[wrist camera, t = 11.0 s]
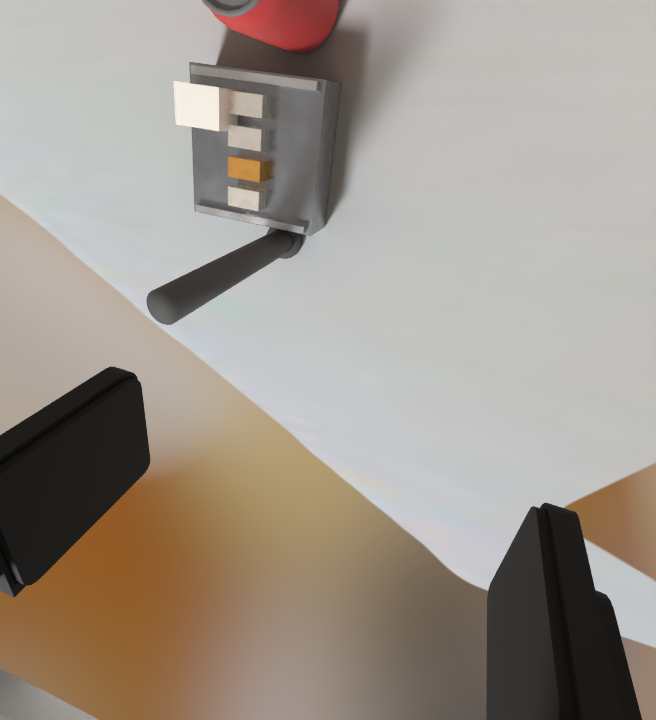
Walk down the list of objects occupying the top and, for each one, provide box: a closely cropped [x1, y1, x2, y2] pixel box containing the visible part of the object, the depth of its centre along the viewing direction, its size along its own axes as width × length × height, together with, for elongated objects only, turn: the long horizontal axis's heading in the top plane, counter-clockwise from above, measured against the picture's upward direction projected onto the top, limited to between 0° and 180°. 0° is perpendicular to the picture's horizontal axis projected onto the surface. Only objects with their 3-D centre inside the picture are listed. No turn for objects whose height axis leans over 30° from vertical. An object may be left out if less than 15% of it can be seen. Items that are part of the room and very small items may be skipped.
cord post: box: [147, 227, 302, 325], centre depth 36 cm, size 4×4×20 cm
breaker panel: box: [190, 62, 341, 236], centre depth 38 cm, size 12×12×6 cm
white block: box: [174, 81, 238, 131], centre depth 35 cm, size 4×3×3 cm
